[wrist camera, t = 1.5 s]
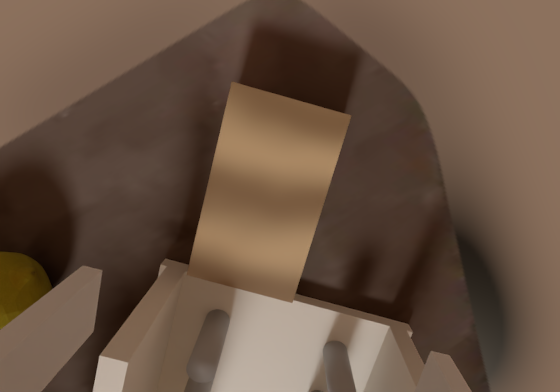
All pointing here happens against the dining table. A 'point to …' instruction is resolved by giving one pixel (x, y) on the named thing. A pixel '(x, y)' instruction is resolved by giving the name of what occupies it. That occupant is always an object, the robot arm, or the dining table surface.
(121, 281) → the dining table surface
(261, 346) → the peg stand
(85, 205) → the dining table surface
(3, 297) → the lemon
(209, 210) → the wooden block
